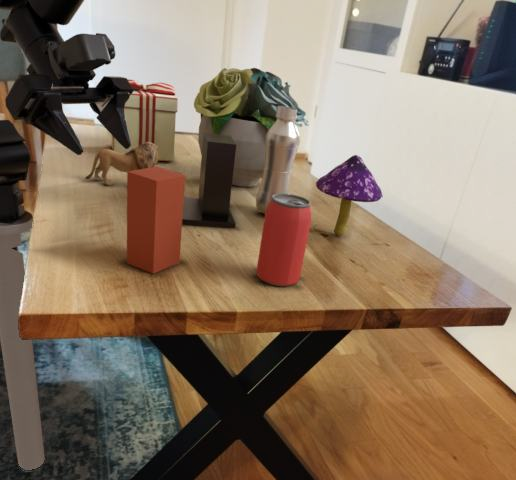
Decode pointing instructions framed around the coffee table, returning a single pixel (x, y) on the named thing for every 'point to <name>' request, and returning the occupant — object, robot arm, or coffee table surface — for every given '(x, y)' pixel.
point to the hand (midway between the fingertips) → (106, 150)
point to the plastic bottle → (278, 156)
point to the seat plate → (213, 185)
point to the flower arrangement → (244, 115)
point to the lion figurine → (125, 160)
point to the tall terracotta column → (154, 218)
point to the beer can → (284, 239)
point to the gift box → (150, 118)
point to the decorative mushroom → (349, 187)
